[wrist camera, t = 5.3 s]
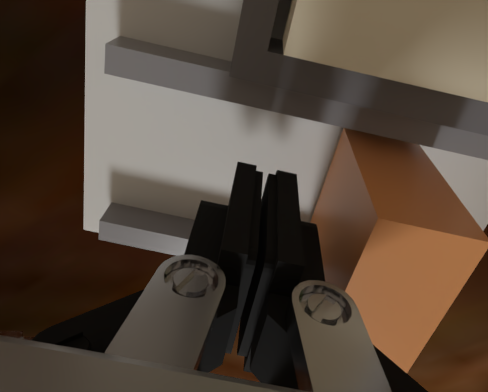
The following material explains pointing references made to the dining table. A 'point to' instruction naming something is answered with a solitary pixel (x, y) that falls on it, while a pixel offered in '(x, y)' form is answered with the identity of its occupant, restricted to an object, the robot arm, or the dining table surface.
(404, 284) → the orange rectangular prism
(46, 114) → the dining table surface
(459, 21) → the cream button
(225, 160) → the control board
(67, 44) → the dining table surface
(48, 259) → the dining table surface
